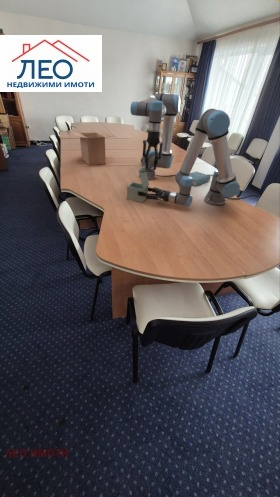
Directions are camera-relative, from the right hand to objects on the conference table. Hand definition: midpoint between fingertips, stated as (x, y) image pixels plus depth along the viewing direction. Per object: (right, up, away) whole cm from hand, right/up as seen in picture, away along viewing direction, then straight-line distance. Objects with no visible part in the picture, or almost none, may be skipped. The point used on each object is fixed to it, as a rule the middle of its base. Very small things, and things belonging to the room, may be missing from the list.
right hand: (140, 190), depth 162 cm
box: (-51, +51, +75) cm, 104 cm away
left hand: (+7, +12, -11) cm, 18 cm away
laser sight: (+11, +49, +79) cm, 93 cm away
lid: (+2, +8, -6) cm, 10 cm away
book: (+51, +20, +43) cm, 69 cm away
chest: (-3, -4, +5) cm, 7 cm away
